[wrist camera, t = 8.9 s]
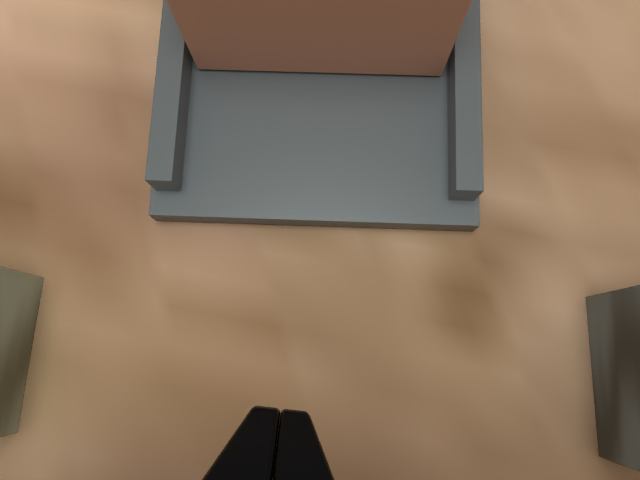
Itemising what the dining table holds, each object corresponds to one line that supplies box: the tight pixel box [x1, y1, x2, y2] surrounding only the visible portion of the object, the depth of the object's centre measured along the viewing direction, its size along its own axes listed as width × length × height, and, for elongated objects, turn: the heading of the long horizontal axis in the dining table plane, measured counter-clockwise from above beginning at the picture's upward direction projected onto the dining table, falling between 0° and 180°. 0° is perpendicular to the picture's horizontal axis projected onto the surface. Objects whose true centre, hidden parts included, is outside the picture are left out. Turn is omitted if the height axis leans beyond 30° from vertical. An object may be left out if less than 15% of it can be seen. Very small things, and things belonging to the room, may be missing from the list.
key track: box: [145, 0, 484, 231], centre depth 23 cm, size 16×13×2 cm
